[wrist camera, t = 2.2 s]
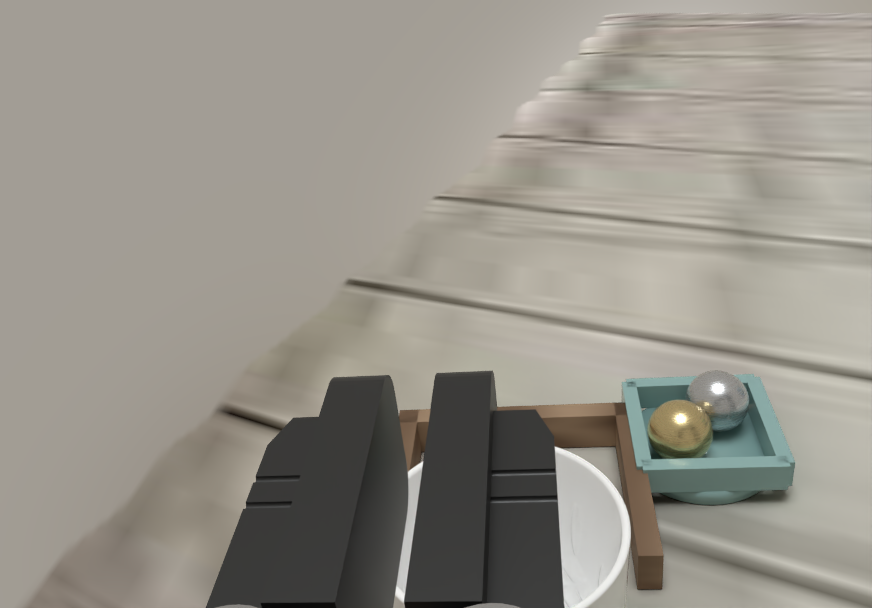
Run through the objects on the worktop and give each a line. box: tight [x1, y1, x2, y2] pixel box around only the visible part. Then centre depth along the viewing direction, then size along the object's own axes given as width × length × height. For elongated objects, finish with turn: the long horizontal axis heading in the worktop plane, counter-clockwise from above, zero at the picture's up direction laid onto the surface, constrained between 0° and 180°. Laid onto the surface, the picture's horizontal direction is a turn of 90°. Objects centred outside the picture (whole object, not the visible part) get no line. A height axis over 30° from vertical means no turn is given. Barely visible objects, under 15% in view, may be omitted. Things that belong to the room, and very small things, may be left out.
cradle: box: [399, 402, 663, 589], centre depth 39 cm, size 12×10×2 cm
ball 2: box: [685, 370, 749, 432], centre depth 41 cm, size 3×3×3 cm
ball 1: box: [647, 400, 713, 459], centre depth 40 cm, size 3×3×3 cm
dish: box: [622, 374, 795, 505], centre depth 41 cm, size 7×7×2 cm
